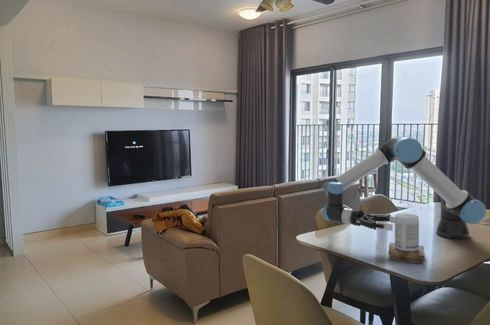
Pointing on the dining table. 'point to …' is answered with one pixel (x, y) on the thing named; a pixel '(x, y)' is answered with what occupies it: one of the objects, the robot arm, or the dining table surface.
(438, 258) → the dining table surface
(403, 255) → the walnut stand
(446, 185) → the robot arm
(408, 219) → the supplement tub
